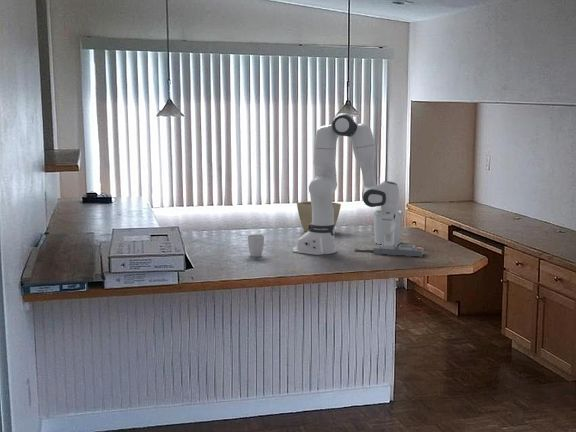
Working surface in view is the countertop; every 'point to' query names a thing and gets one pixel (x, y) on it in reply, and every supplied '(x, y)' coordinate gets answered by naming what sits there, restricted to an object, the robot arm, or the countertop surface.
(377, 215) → the utensil holder
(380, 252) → the power strip
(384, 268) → the countertop surface
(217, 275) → the countertop surface
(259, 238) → the cup
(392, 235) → the charger
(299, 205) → the flower pot
